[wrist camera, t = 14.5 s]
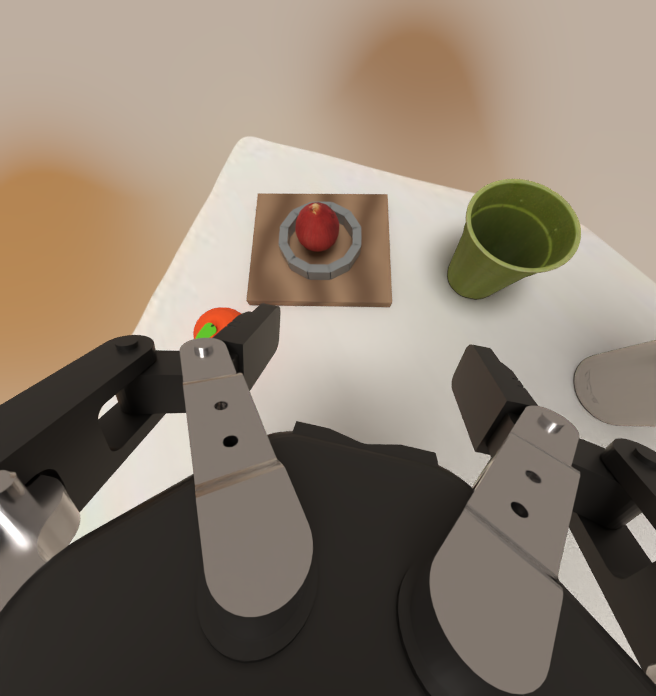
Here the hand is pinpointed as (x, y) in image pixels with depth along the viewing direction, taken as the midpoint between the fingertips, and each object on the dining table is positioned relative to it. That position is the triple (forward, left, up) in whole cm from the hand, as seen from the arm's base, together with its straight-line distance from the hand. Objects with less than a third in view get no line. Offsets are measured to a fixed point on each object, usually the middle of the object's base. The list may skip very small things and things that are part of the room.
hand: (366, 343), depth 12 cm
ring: (+4, -21, -23) cm, 32 cm away
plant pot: (-18, -17, -25) cm, 36 cm away
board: (+4, -21, -25) cm, 33 cm away
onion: (+4, -21, -23) cm, 32 cm away
